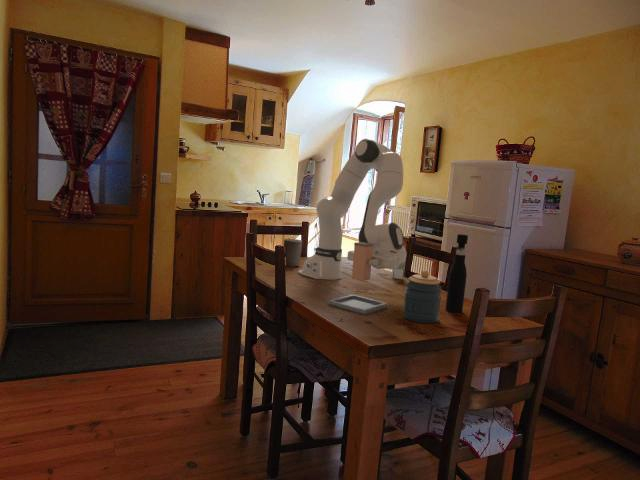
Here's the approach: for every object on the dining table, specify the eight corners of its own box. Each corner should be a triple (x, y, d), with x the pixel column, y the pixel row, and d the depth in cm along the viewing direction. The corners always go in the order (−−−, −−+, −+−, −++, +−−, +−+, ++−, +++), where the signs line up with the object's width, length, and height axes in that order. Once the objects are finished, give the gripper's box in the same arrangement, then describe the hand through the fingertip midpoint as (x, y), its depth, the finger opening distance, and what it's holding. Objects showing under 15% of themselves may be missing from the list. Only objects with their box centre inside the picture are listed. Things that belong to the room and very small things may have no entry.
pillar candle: (279, 265, 249) (282, 237, 247) (284, 262, 259) (286, 235, 257) (298, 268, 248) (300, 239, 246) (301, 264, 257) (304, 237, 255)
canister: (415, 324, 163) (421, 274, 161) (395, 313, 175) (399, 266, 172) (446, 322, 168) (451, 274, 166) (424, 312, 180) (429, 266, 178)
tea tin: (351, 278, 179) (354, 242, 177) (358, 276, 183) (362, 242, 181) (362, 281, 176) (366, 244, 174) (370, 279, 180) (373, 243, 178)
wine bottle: (459, 314, 181) (469, 236, 177) (443, 310, 184) (452, 234, 181) (464, 311, 187) (473, 235, 183) (448, 307, 190) (456, 233, 186)
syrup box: (402, 277, 244) (405, 249, 242) (403, 280, 238) (406, 251, 236) (391, 276, 244) (394, 248, 242) (392, 278, 238) (394, 250, 237)
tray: (328, 305, 179) (329, 300, 179) (352, 298, 192) (353, 294, 192) (364, 315, 170) (364, 310, 169) (386, 307, 182) (387, 303, 182)
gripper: (359, 246, 195) (339, 248, 184) (403, 253, 182) (385, 256, 171) (357, 261, 195) (338, 264, 184) (402, 270, 183) (383, 273, 172)
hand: (361, 260), depth 178 cm, fingers closed on tea tin, 5 cm apart
